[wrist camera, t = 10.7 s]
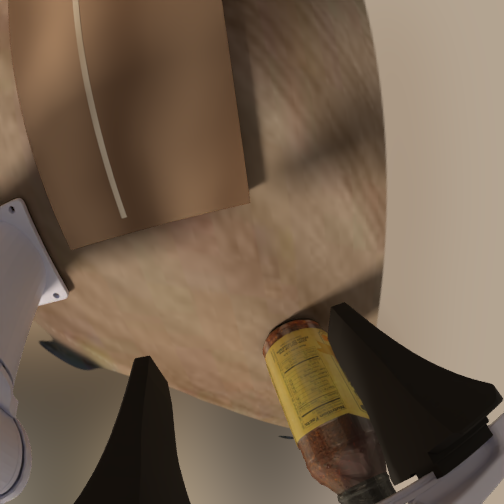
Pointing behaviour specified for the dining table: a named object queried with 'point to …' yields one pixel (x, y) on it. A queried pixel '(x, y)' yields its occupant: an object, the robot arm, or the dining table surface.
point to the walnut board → (128, 111)
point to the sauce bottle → (326, 414)
